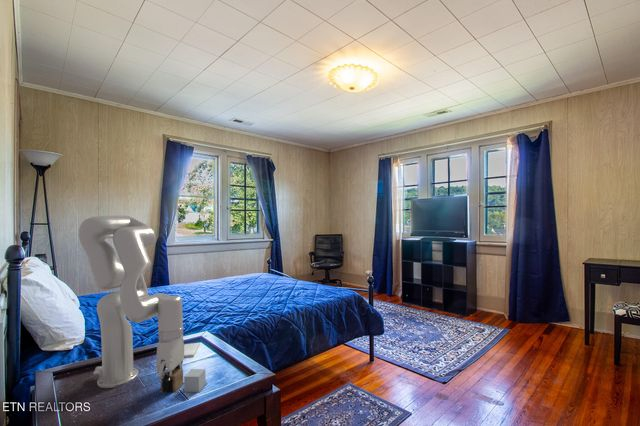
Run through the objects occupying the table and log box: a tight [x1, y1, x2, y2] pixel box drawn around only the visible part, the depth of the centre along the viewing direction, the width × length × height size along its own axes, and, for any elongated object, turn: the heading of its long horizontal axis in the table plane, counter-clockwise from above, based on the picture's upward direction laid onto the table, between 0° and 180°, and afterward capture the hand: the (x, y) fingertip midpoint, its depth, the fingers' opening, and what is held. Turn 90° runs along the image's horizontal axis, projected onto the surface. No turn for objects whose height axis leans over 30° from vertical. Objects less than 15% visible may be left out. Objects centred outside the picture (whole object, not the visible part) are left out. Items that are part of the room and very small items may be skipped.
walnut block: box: [160, 368, 184, 393], centre depth 107 cm, size 5×5×5 cm
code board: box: [159, 382, 208, 394], centre depth 106 cm, size 16×10×1 cm, turn 86°
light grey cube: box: [183, 368, 207, 392], centre depth 106 cm, size 5×5×5 cm
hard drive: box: [184, 342, 201, 359], centre depth 137 cm, size 2×8×12 cm
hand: (172, 386), depth 107 cm, fingers closed on walnut block, 5 cm apart
